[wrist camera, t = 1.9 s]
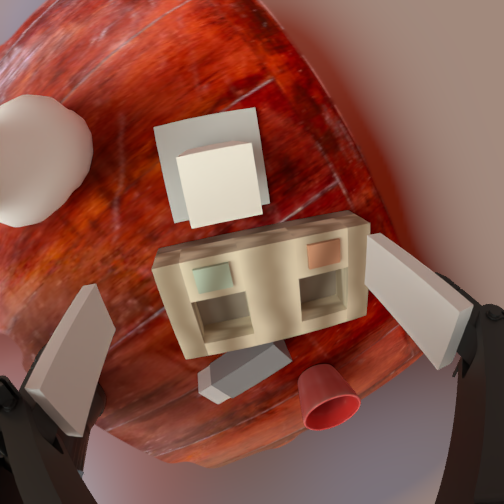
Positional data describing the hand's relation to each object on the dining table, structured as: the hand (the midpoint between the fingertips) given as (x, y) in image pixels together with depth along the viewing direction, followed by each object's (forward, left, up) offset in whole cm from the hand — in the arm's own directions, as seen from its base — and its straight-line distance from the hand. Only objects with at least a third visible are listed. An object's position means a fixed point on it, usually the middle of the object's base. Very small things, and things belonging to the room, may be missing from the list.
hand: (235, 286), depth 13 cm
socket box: (+4, -13, -23) cm, 27 cm away
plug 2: (-2, -27, -23) cm, 36 cm away
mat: (0, +3, -23) cm, 23 cm away
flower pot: (+11, -38, -24) cm, 46 cm away
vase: (-20, +10, -24) cm, 32 cm away
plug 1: (0, +3, -23) cm, 23 cm away
